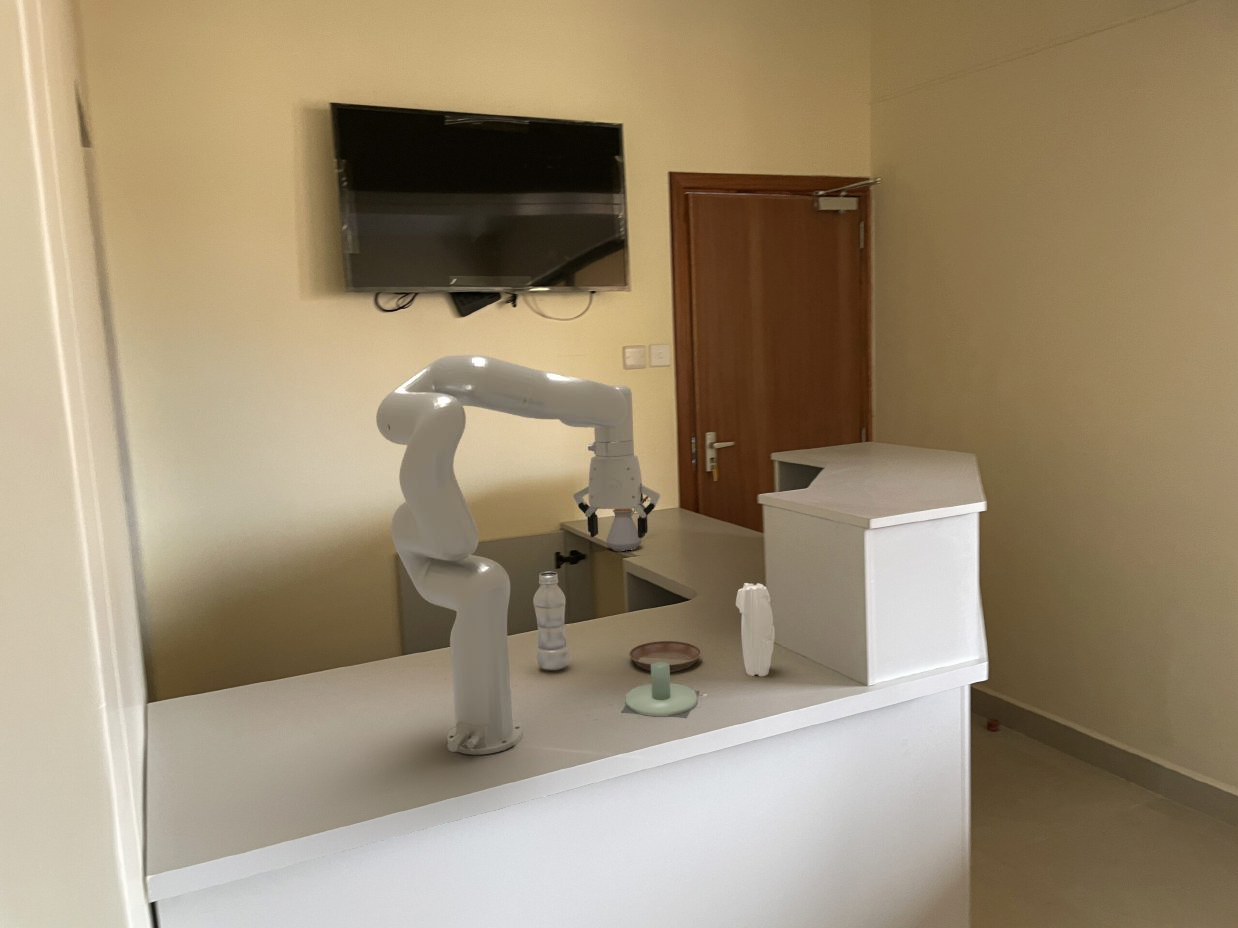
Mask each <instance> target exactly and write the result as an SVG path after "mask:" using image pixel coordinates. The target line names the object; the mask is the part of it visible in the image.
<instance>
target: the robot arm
mask: <svg viewBox="0 0 1238 928" xmlns="http://www.w3.org/2000/svg"><path fill="white" fill-rule="evenodd" d="M632 395H633V392H632V390H631V388H630V387H628V386H626V385H609V384H605V383H602V382H598V381H595V380H594V381H593V380H591V379H590V380H589V379H585V378H580V377H573V376H570V375H565V374H558V373H555V372H550V371H544V370H539V369H535V368H531V367H527V366H525V365H524V366H523V365H520V364H516V363H512V362H509V361H506V360H501V359H498V358H494V357H490V356H487V355H479V354H464V355H463V354H462V355H461V354H460V355H457V354H456V355H447V356H446V355H445V356H443V357H440V358H438V359H436V360H434V361H433V362H431V363H430V364H428V365H427V366H425V367H423V368H422V369H421V370H420V371H418V372H417V373H415V374H414V375H413V376H411V377H410V378H408V379H407V380H406V381H405V382H403V383H402V384H400V385H399V386H398V387H396V388H395V389H393V390H392V391H391V392H390V393H388V394H387V395H386V396H385V397H384V399H382V400H381V402H380V404H379V406H378V408H377V411H376V418H375V419H376V420H375V421H376V426H377V429H378V431H379V432H380V434H381V435H382V436H383V437H384V438H385V439H386V440H388V441H389V442H390V443H393V444H397V445H400V446H401V445H402V446H404V445H405V446H406V448H405V451H404V455H403V457H402V460H401V464H400V468H399V475H398V477H399V479H398V480H399V485H400V489H401V492H402V495H403V497H404V500H405V501H404V502H403V503H401V504H400V505H399V506H398V507H397V508H396V510H395V512H394V513H393V516H392V519H391V520H392V521H391V525H390V531H391V532H390V533H391V538H392V539H391V540H392V543H393V545H394V548H395V550H396V552H397V554H398V555H399V558H400V560H401V562H402V563H403V566H404V568H405V571H406V572H407V574H408V576H409V578H410V580H411V581H412V582H411V583H413V586H414V587H415V589H416V590H417V592H418V593H419V595H420V596H421V597H422V598H423V600H425V601H427V602H428V603H430V604H432V605H435V606H439V607H442V608H445V609H449V610H452V611H455V612H456V617H455V620H454V623H453V626H452V628H451V632H450V637H449V648H450V660H451V661H450V662H451V663H450V664H451V677H452V687H453V688H452V690H453V704H454V719H455V721H454V722H455V726H454V727H453V728H452V729H450V730H449V732H448V734H447V736H446V738H447V744H446V747H447V749H448V751H450V752H452V753H455V752H457V753H460V754H464V755H471V756H472V755H473V756H474V755H475V756H476V755H477V756H480V755H482V756H483V755H489V754H494V753H500V752H502V751H505V750H507V749H510V748H512V747H513V746H514V745H516V744H517V743H518V742H520V740H521V739H522V737H523V728H522V725H521V724H520V723H519V722H518V721H516V720H514V719H513V709H512V707H513V705H512V693H511V677H510V674H511V673H510V657H509V656H510V655H509V645H508V644H509V643H508V612H509V611H508V610H509V603H510V595H511V580H510V577H509V574H508V573H507V571H506V569H505V568H504V566H502V565H501V564H499V563H498V562H497V561H495V560H492V559H490V558H487V557H484V556H478V555H475V554H474V553H475V551H476V550H477V548H478V545H479V540H480V535H479V529H478V526H477V523H476V520H475V519H474V516H473V513H472V511H471V509H470V507H469V505H468V503H467V501H466V498H465V497H464V494H463V492H462V490H461V487H460V485H459V483H458V480H457V477H456V474H455V470H454V469H455V467H454V461H455V456H456V452H457V450H458V449H457V448H458V447H459V444H460V441H461V439H462V436H463V434H464V432H465V429H466V424H467V423H466V422H467V421H466V420H467V419H466V418H467V417H466V410H465V408H464V407H466V406H467V407H476V408H479V409H486V410H489V411H496V412H498V413H499V412H500V413H504V414H507V415H508V414H509V415H513V416H518V417H521V418H527V419H535V420H559V422H561V423H562V424H563V425H566V426H568V427H571V428H585V429H586V428H590V429H591V428H593V429H594V430H593V431H594V432H593V433H594V441H593V442H592V443H588V444H587V450H588V451H589V452H590V451H591V452H593V454H594V456H592V457H591V458H590V463H589V473H588V486H587V487H584V488H583V489H580V490H579V491H577V492H576V493H574V494H573V499H574V501H575V503H576V504H577V506H578V509H580V511H582V513H584V516H585V517H586V519H587V531H588V532H589V534H590V538H595V536H597V535H599V518H598V515H597V514H596V512H597V510H598V509H599V510H600V509H602V510H606V509H607V510H614V509H632V510H635V513H636V514H637V515H638V518H637V530H638V537H639V538H641V539H643V537H645V536H646V534H647V533H648V515H649V514H650V513H651V512H653V510H654V509H655V508H656V506H657V505H658V502H659V500H660V499H661V493H658V492H657V491H655V490H654V489H653V490H652V489H651V488H649V487H647V486H646V485H643V479H642V474H641V473H642V472H641V467H640V462H639V459H638V456H637V455H635V449H634V448H635V444H634V443H635V440H634V418H633V413H634V411H633V396H632ZM586 495H588V497H587V498H588V503H587V502H586V501H585V500H584V497H585V496H586ZM644 495H645V497H646V496H648V498H650V500H651V501H650V500H649V504H648V505H647V506H645V504H644V503H642V502H643V498H644Z"/></svg>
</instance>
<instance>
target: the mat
mask: <svg viewBox="0 0 1238 928" xmlns="http://www.w3.org/2000/svg"><path fill="white" fill-rule="evenodd" d="M694 691H695V692H696V695H697V697H698V696H699V694H700V693H701V691H700V690H694ZM690 712H691V710H689V711H687V712H684V713H681V714H677V715H672V716H667V718H669V717H670V718H681V719H687V718H688V716H689V714H690ZM620 713H622V714H630V715H631V714H634V715H640V714H639V713H636V712H634V711H632V710H630V709H629V708H628V707H627V705H626V704H625V705H624V707H623V708H622V710H621V711H620Z"/></svg>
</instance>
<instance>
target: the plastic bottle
mask: <svg viewBox="0 0 1238 928" xmlns="http://www.w3.org/2000/svg"><path fill="white" fill-rule="evenodd" d="M538 575H539V577H538V579H539V580H538V584H539V587H538V589H537V590H536V591H535V594H534V595H533V608H534V611H535V615H536V616H535V617H536V622H537V623H536V624H537V625H536V626H537V630H538V631H537V632H538V634H537V635H538V636H537V649H536V660H537V665H538V666H539V667H540V668H541V670H545V671H559V670H562V669H565V668H567V666H568V664H569V660H570V651H569V648H568V645H567V639H566V632H565V631H566V630H565V613H566V612H565V611H566V596H565V594H564V592H563V590H562V588H561V587H560V586H558V583H559V579H558V572H556V571H545V572H540V573H539V574H538Z"/></svg>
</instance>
